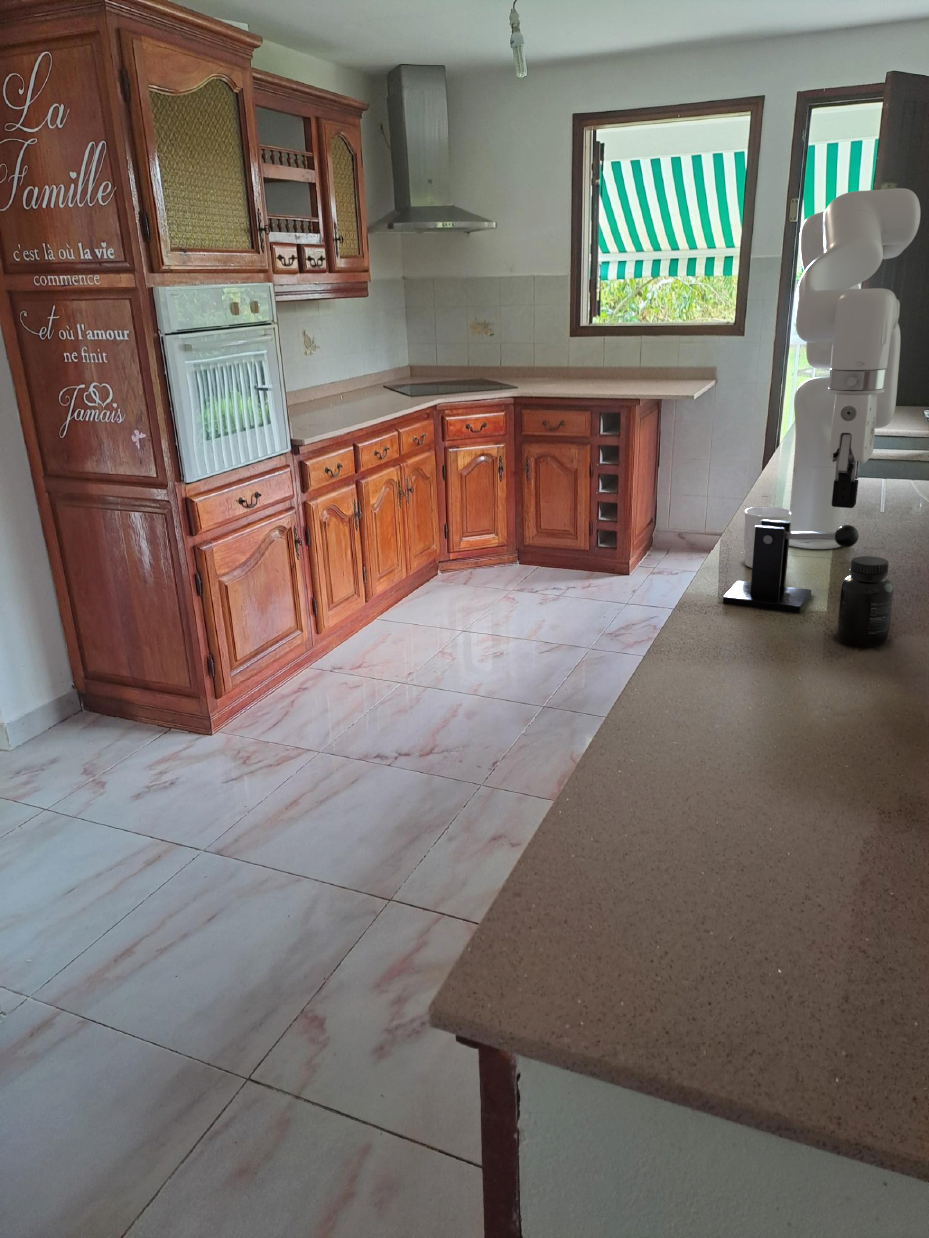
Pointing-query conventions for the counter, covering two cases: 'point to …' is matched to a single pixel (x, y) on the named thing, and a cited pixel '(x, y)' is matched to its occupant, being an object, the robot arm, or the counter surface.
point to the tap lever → (828, 535)
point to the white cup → (754, 518)
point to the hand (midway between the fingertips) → (843, 506)
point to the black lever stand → (769, 574)
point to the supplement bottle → (865, 603)
